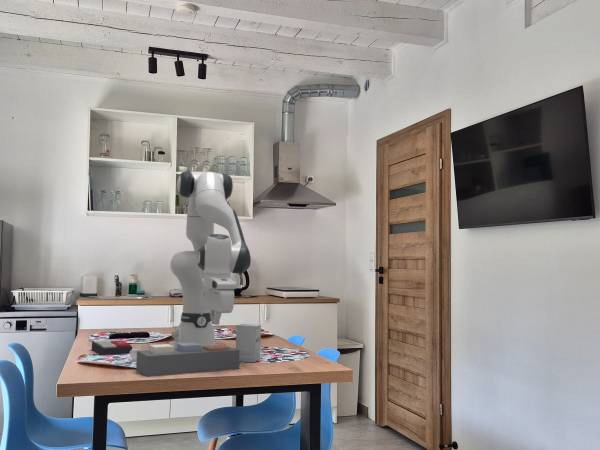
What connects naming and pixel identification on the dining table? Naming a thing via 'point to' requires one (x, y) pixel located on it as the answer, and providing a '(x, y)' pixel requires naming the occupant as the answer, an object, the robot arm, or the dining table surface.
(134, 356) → the white curved piece
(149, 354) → the key console
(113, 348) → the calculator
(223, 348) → the terracotta key
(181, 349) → the slate key
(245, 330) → the supplement box
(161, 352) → the cream key
